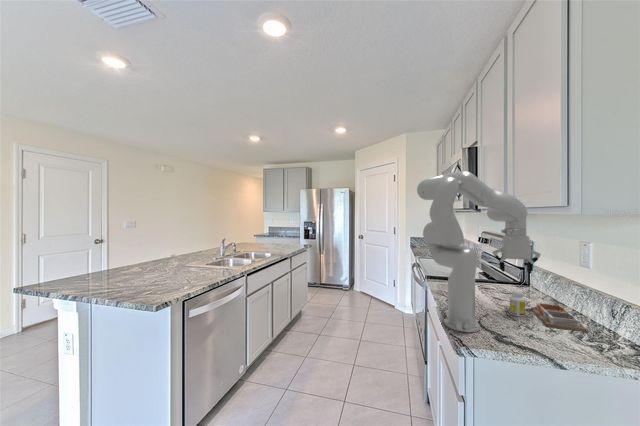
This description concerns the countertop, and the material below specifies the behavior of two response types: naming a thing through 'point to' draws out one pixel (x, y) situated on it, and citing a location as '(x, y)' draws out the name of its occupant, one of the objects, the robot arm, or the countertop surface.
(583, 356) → the countertop surface
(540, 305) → the board
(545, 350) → the countertop surface
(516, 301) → the supplement bottle
